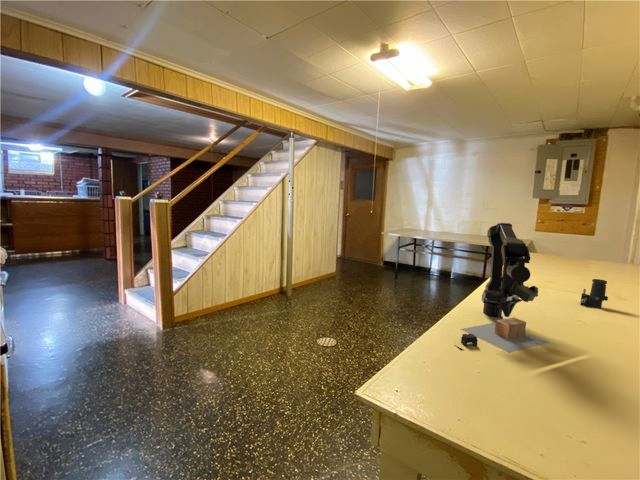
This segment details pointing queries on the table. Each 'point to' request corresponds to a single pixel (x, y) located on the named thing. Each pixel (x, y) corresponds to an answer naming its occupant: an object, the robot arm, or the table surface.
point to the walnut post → (510, 327)
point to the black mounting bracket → (468, 340)
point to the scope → (595, 294)
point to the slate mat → (509, 344)
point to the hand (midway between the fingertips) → (506, 316)
